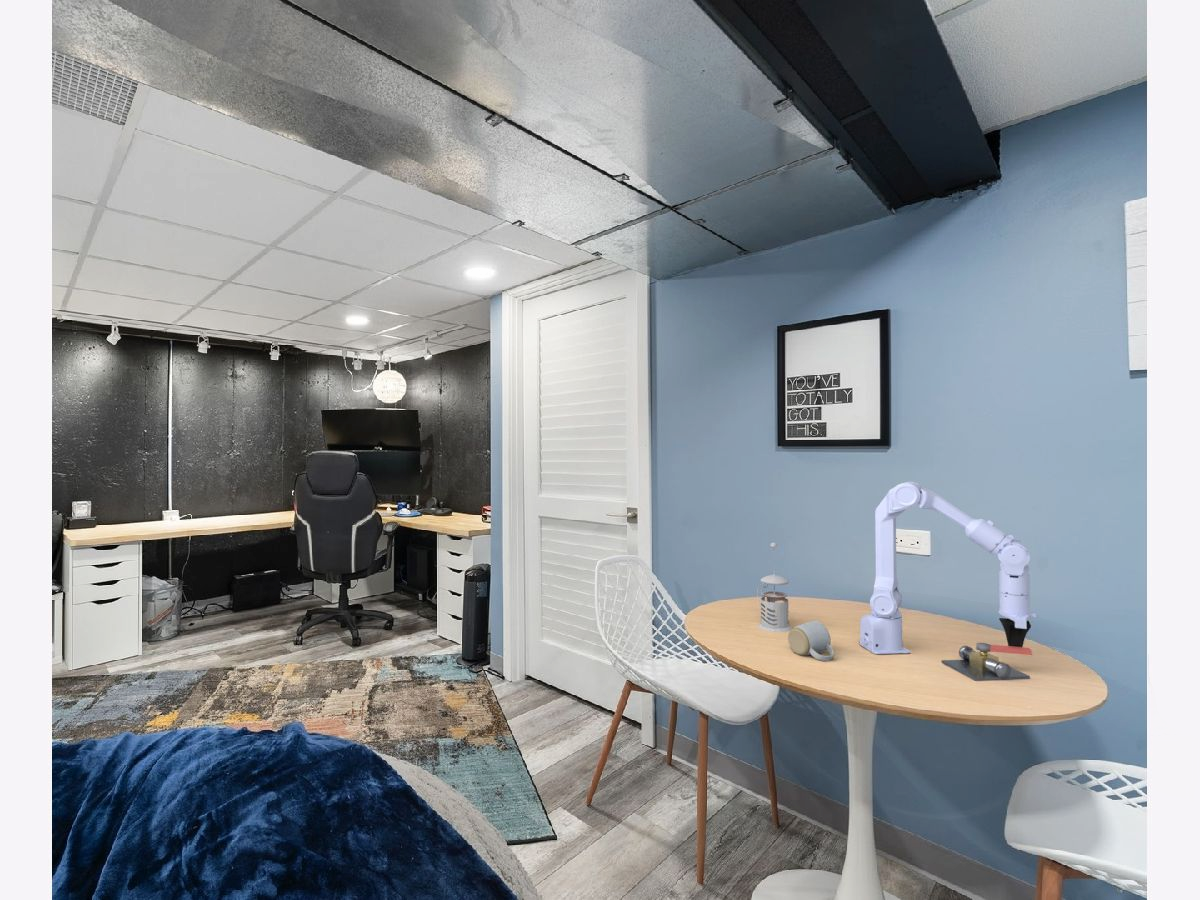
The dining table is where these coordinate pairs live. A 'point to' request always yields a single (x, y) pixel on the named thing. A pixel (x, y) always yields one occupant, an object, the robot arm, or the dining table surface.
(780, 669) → the dining table surface
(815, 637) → the ceramic mug
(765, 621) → the french press
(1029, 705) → the dining table surface
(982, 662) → the valve assembly
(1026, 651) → the valve lever
